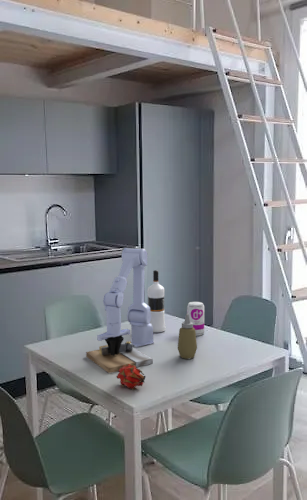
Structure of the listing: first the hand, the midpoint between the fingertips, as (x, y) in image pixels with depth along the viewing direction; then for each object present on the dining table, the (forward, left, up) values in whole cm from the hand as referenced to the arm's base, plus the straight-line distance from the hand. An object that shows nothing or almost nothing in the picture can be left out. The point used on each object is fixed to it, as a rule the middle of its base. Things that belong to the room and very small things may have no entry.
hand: (114, 354), depth 195 cm
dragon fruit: (+6, +26, -3) cm, 27 cm away
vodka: (-37, -27, -3) cm, 46 cm away
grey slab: (-2, 0, -3) cm, 3 cm away
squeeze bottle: (-28, +12, -3) cm, 30 cm away
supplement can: (-50, -12, -3) cm, 51 cm away
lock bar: (-3, -2, 0) cm, 3 cm away
